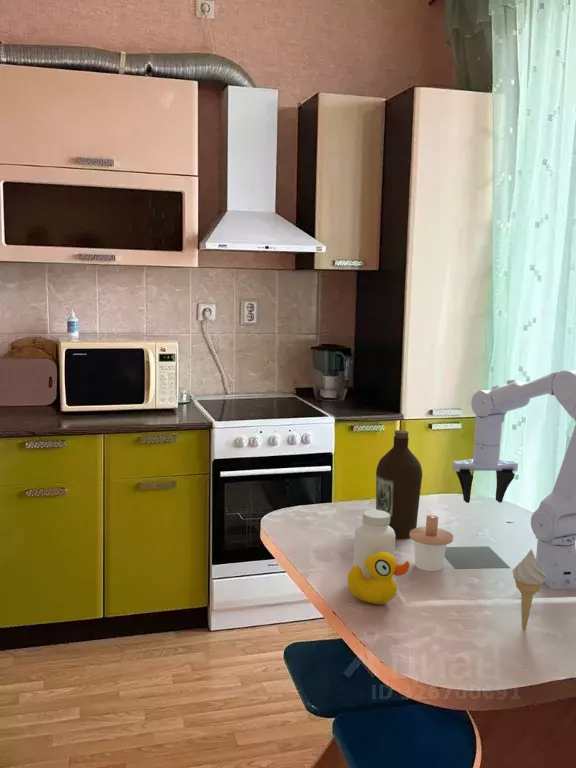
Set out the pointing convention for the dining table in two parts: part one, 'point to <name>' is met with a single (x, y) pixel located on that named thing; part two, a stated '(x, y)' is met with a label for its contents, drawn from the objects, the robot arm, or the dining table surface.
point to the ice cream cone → (528, 583)
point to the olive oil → (399, 486)
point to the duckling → (376, 578)
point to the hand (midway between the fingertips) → (482, 501)
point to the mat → (474, 558)
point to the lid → (431, 533)
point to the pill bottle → (372, 538)
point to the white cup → (429, 556)
